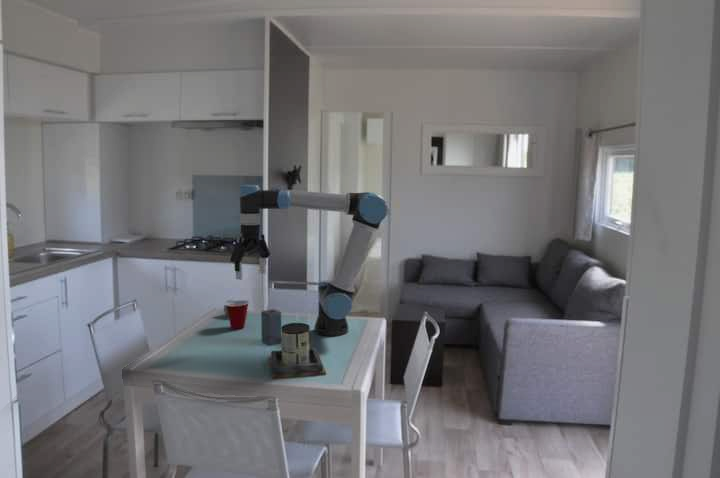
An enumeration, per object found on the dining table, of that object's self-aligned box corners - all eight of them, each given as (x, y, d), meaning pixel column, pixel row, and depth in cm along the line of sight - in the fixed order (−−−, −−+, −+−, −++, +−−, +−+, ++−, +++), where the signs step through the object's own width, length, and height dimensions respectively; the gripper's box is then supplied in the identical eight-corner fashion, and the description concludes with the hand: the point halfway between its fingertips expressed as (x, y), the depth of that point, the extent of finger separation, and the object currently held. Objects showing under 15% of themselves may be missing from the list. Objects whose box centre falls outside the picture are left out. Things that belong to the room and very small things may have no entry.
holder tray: (317, 355, 204) (317, 347, 204) (325, 374, 186) (325, 364, 185) (268, 359, 200) (268, 350, 199) (271, 378, 182) (271, 369, 181)
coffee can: (289, 357, 199) (289, 321, 197) (314, 360, 196) (314, 324, 194) (276, 367, 190) (276, 329, 188) (302, 370, 186) (302, 332, 184)
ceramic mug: (235, 319, 251) (235, 303, 250) (223, 316, 256) (223, 301, 255) (251, 314, 260) (251, 299, 259) (239, 312, 264) (239, 297, 263)
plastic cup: (238, 322, 246) (238, 297, 244) (254, 327, 240) (254, 301, 238) (220, 328, 237) (219, 302, 235) (236, 333, 231) (235, 306, 229)
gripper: (264, 220, 221) (265, 270, 224) (219, 226, 200) (221, 280, 203) (278, 221, 217) (278, 272, 220) (234, 227, 196) (235, 283, 199)
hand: (251, 276), depth 212 cm, fingers open, 13 cm apart
